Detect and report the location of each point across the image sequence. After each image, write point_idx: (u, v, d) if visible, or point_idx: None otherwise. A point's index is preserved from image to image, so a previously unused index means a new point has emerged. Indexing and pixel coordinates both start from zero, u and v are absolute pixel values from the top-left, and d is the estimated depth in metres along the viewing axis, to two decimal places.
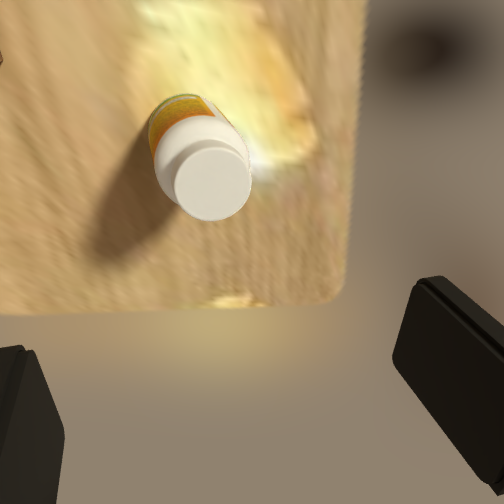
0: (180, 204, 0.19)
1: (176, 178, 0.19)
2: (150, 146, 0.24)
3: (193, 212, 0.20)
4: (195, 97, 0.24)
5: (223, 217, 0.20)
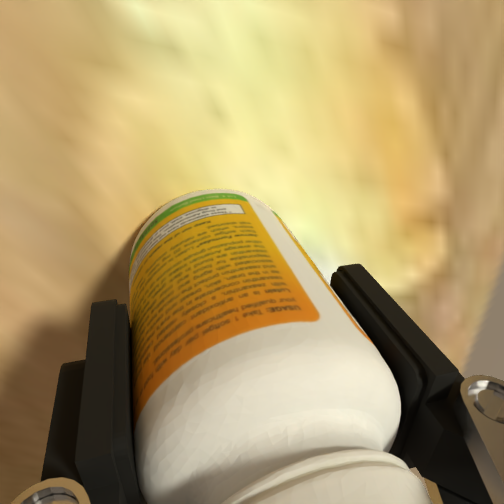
0: None
1: None
2: None
3: None
4: (240, 207, 0.11)
5: None
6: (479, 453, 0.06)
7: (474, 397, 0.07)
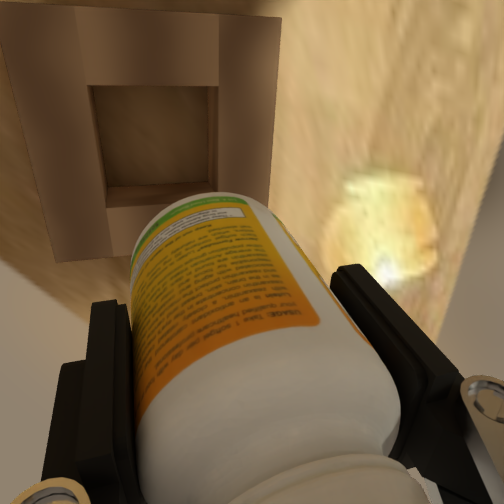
0: None
1: None
2: None
3: None
4: (240, 210, 0.11)
5: None
6: (479, 453, 0.06)
7: (474, 397, 0.07)
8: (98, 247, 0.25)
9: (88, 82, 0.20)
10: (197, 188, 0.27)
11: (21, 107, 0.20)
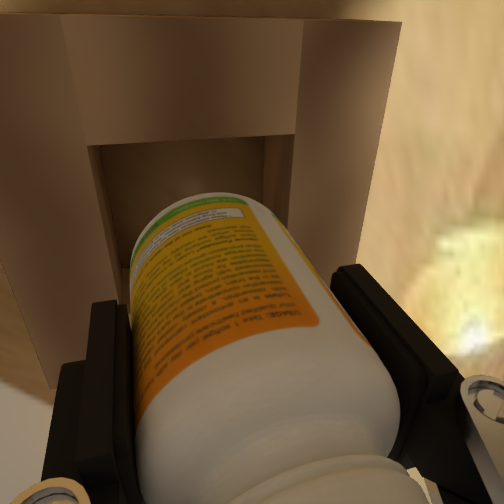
0: None
1: None
2: None
3: None
4: (240, 211, 0.11)
5: None
6: (479, 453, 0.06)
7: (474, 397, 0.07)
8: None
9: (89, 141, 0.12)
10: None
11: None
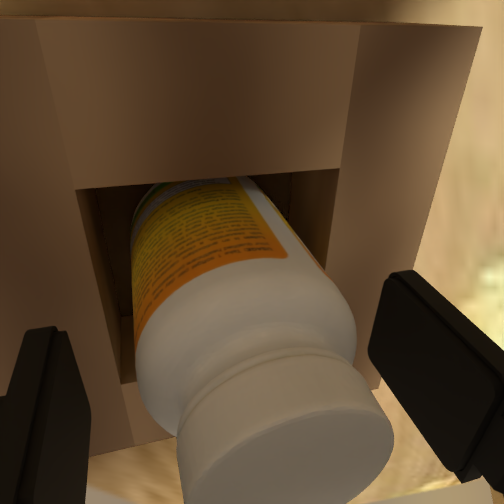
0: None
1: (196, 490, 0.06)
2: None
3: None
4: (227, 179, 0.12)
5: None
6: None
7: None
8: (108, 438, 0.14)
9: (78, 183, 0.09)
10: None
11: None
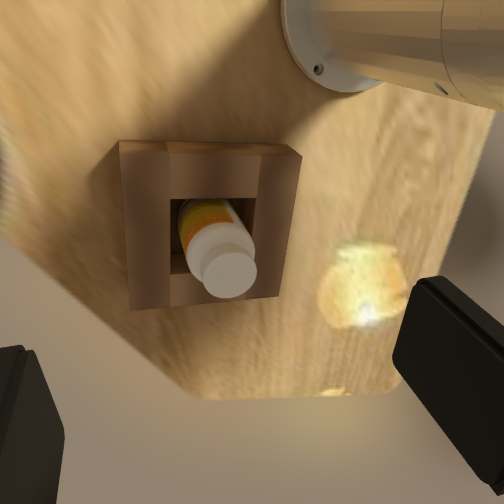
0: (205, 286, 0.27)
1: (206, 270, 0.27)
2: (180, 232, 0.32)
3: (213, 292, 0.28)
4: (216, 198, 0.33)
5: (233, 296, 0.29)
6: None
7: None
8: (160, 300, 0.35)
9: (171, 197, 0.30)
10: None
11: (126, 213, 0.29)
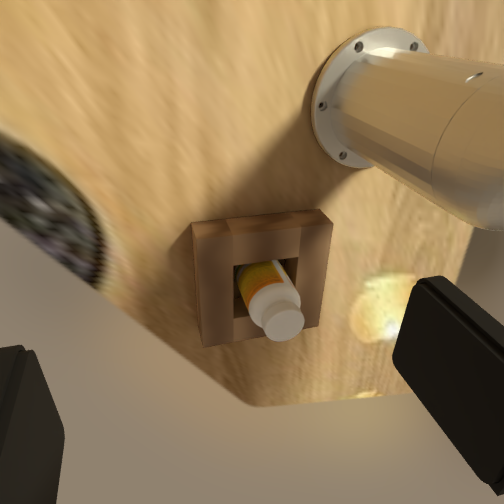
0: (267, 335, 0.36)
1: (267, 324, 0.36)
2: (240, 287, 0.41)
3: (272, 338, 0.37)
4: None
5: (287, 339, 0.38)
6: None
7: None
8: (226, 338, 0.44)
9: (234, 264, 0.39)
10: None
11: (200, 279, 0.39)
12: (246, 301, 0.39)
